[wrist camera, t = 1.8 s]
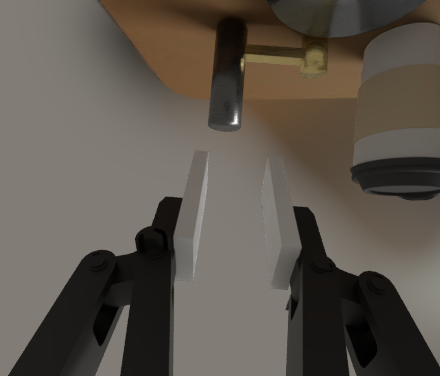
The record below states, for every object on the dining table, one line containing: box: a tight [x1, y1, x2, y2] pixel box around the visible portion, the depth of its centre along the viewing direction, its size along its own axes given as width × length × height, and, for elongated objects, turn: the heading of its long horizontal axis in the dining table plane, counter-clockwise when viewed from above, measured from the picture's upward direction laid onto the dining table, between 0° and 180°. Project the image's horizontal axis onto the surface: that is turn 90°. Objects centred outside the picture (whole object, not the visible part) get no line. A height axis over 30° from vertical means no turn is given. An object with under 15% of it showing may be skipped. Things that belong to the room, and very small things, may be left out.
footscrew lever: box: [208, 20, 328, 132], centre depth 27 cm, size 11×3×10 cm, turn 90°
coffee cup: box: [350, 23, 440, 200], centre depth 28 cm, size 9×9×15 cm
